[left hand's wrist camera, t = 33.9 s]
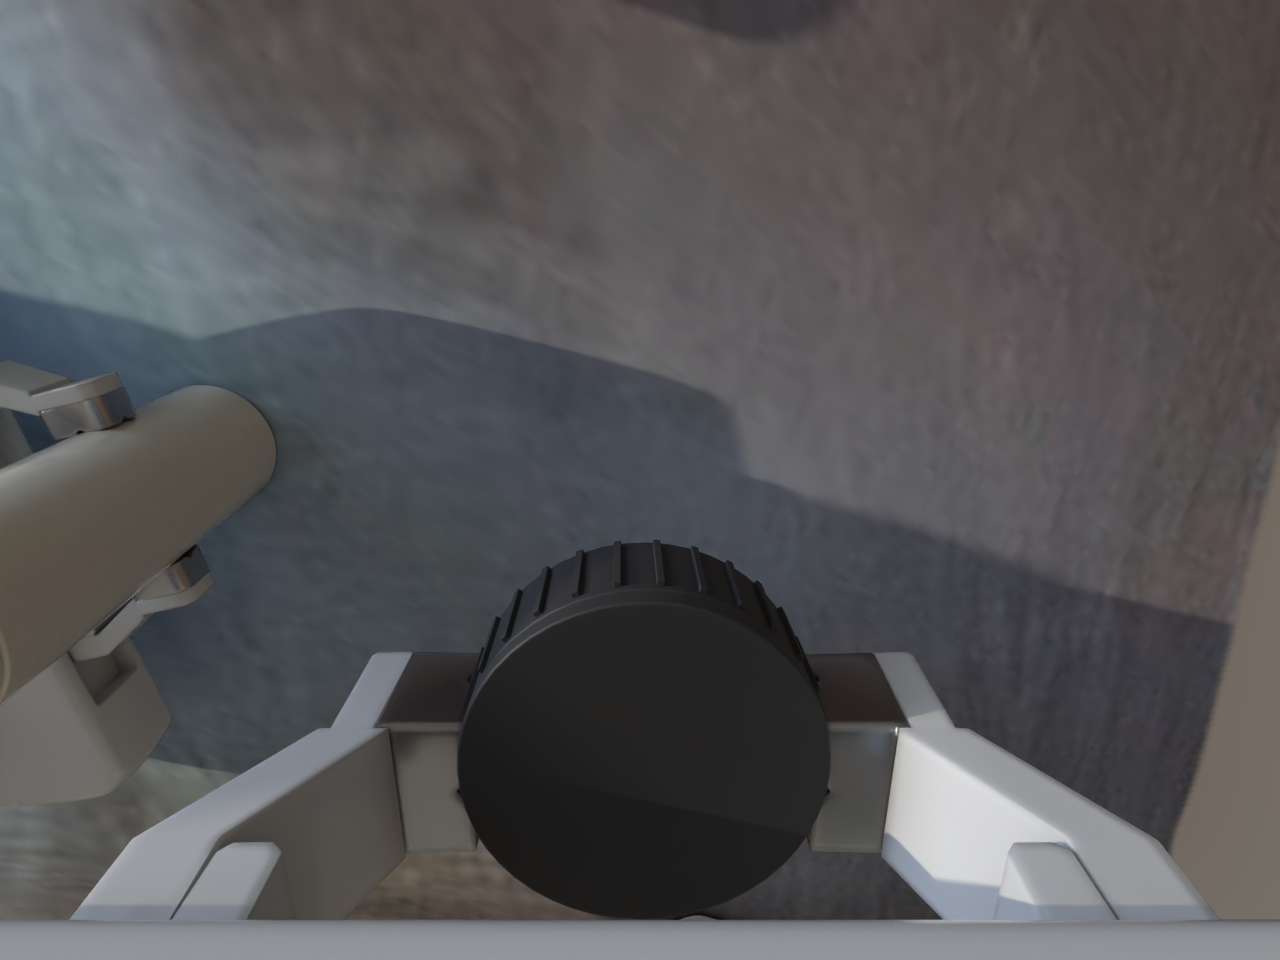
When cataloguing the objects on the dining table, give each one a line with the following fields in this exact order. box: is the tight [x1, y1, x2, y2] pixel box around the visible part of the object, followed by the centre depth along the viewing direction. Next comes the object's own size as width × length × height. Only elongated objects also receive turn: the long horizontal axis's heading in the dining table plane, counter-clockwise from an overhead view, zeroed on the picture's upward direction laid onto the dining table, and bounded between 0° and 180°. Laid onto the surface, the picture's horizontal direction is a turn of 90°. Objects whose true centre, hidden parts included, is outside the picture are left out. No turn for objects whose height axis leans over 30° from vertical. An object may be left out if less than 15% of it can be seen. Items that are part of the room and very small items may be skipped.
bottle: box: [0, 385, 276, 707], centre depth 21 cm, size 5×5×20 cm
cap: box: [457, 540, 831, 919], centre depth 9 cm, size 4×4×2 cm
